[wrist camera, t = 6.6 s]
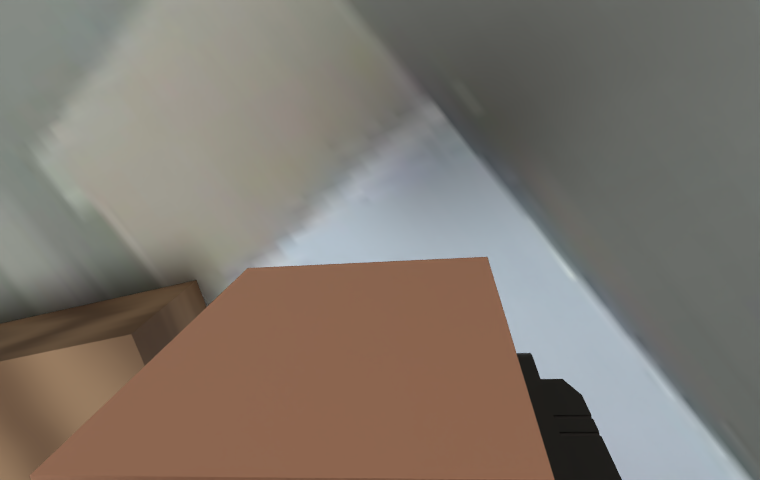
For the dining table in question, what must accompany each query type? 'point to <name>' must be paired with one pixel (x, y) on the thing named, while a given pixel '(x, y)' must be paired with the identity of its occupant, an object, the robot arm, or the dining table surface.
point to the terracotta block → (326, 385)
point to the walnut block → (78, 366)
